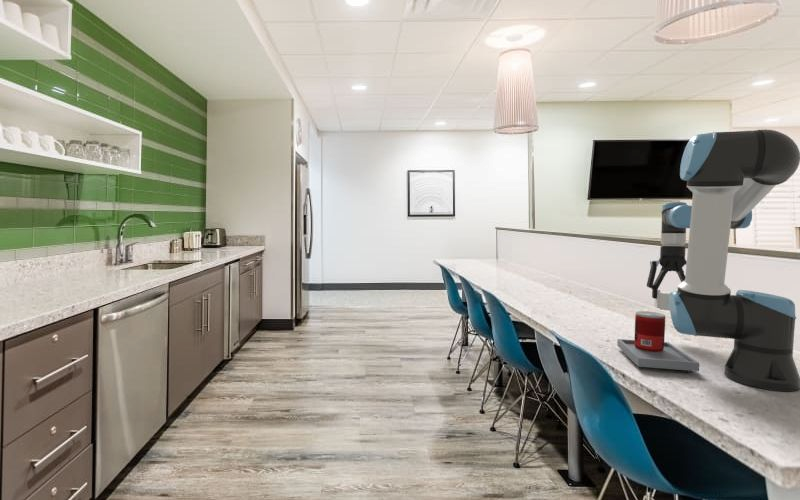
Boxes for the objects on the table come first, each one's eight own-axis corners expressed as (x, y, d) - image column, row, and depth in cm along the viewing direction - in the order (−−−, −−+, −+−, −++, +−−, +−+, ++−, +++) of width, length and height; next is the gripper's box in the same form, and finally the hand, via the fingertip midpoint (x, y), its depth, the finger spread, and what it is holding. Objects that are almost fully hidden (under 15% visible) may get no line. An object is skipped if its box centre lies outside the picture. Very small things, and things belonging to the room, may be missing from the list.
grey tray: (617, 349, 136) (617, 338, 136) (668, 353, 133) (668, 342, 132) (637, 370, 116) (638, 358, 116) (698, 375, 112) (699, 362, 112)
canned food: (669, 352, 125) (671, 316, 124) (642, 351, 125) (644, 316, 124) (654, 345, 132) (655, 311, 132) (629, 344, 133) (630, 310, 132)
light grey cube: (659, 309, 149) (659, 292, 149) (661, 307, 154) (662, 291, 153) (679, 311, 145) (680, 294, 145) (681, 309, 150) (681, 293, 150)
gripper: (700, 246, 150) (698, 308, 151) (637, 244, 155) (635, 305, 155) (711, 246, 143) (708, 311, 143) (644, 244, 148) (642, 308, 148)
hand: (670, 308), depth 149 cm, fingers closed on light grey cube, 8 cm apart
